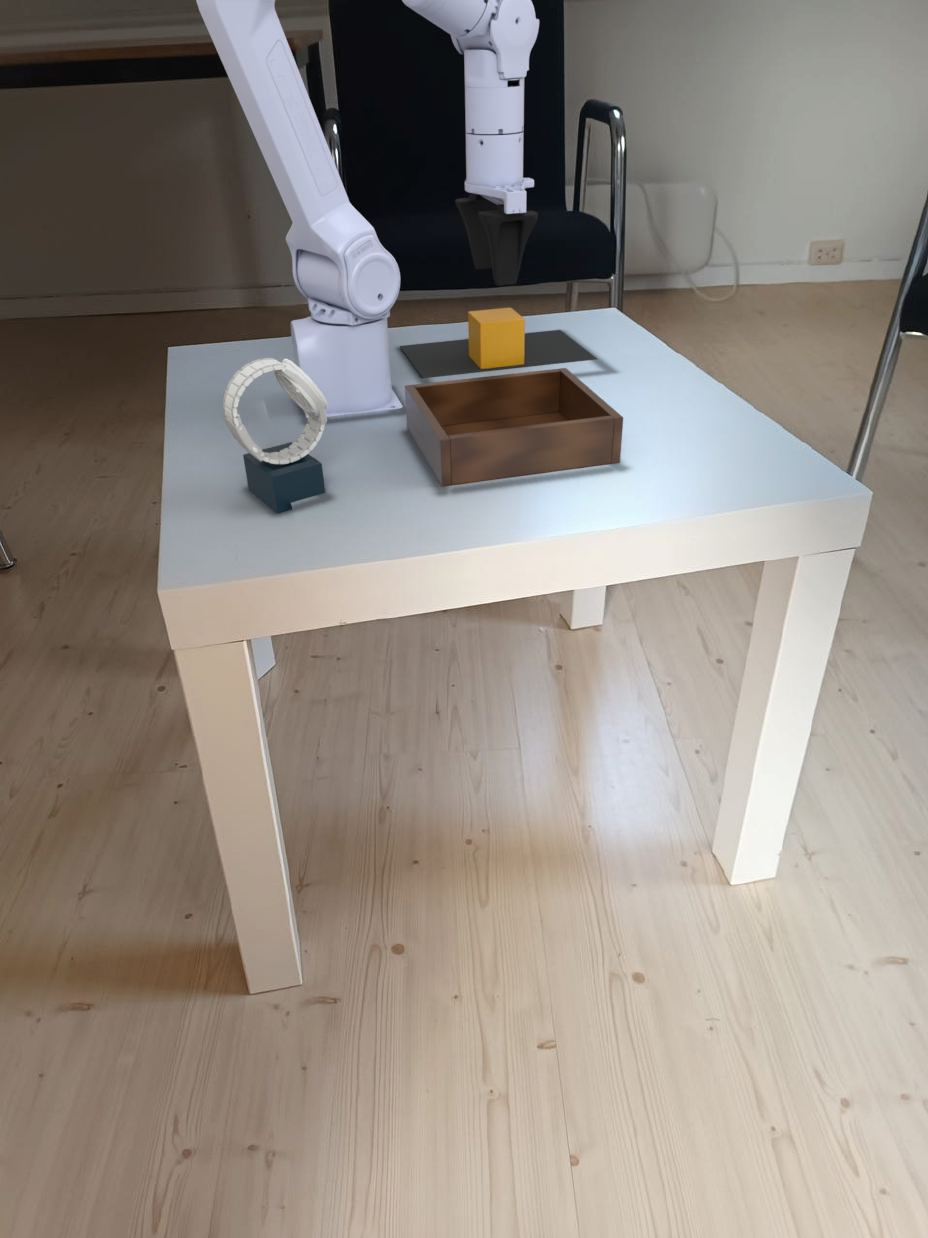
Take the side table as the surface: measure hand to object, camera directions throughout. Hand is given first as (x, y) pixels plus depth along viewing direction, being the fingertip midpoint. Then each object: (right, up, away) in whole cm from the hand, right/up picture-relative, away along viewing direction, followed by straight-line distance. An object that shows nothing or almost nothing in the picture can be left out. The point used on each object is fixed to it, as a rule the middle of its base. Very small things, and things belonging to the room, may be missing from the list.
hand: (494, 275), depth 98 cm
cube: (0, -8, +5) cm, 9 cm away
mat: (+1, -7, +6) cm, 10 cm away
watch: (-18, -26, -22) cm, 39 cm away
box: (+1, -21, -16) cm, 26 cm away
